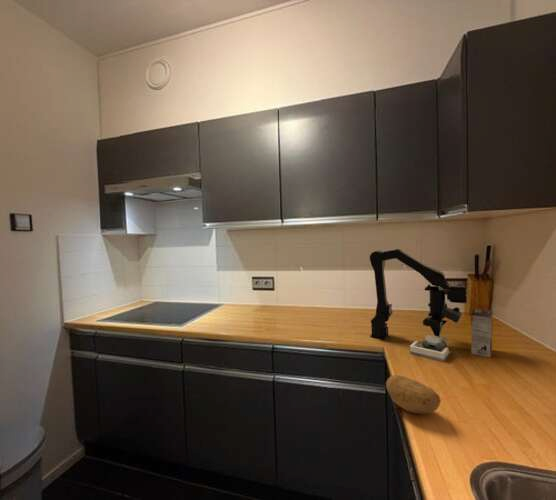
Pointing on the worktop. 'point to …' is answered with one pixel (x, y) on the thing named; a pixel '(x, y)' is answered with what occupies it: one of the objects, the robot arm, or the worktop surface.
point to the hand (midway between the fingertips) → (437, 337)
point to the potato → (412, 395)
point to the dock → (429, 352)
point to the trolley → (435, 342)
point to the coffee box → (481, 332)
